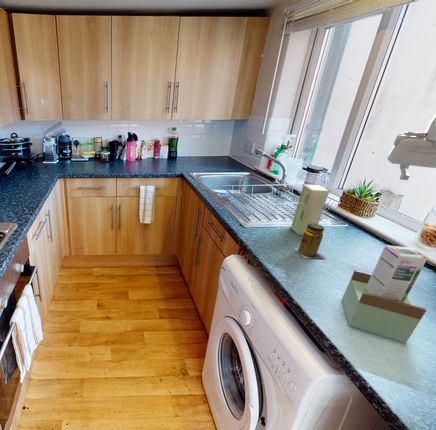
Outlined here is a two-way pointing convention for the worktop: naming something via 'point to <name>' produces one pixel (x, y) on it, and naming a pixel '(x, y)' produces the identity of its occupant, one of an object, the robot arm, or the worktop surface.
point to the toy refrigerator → (309, 207)
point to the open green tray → (379, 311)
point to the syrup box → (395, 272)
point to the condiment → (311, 241)
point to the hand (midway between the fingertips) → (424, 182)
